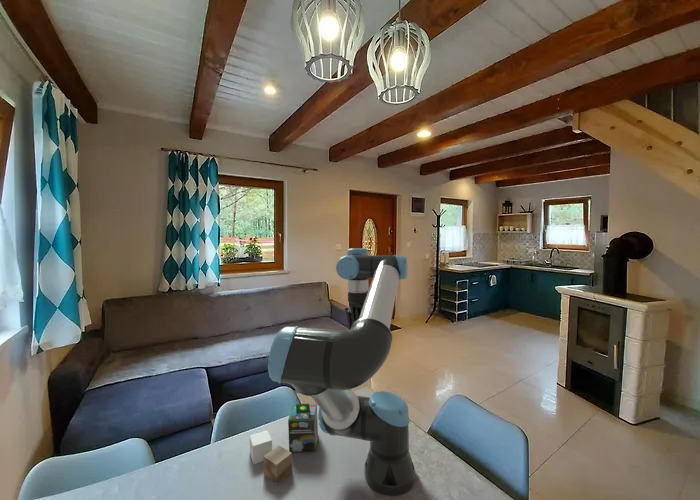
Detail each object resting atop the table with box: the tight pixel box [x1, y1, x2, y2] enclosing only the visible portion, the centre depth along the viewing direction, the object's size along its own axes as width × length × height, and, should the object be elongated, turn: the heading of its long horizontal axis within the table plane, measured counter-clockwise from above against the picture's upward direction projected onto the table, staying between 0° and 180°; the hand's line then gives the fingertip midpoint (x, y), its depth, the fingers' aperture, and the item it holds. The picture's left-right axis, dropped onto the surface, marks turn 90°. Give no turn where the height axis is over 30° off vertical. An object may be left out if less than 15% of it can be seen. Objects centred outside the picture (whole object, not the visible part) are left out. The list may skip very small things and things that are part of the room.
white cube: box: [249, 429, 273, 465], centre depth 99 cm, size 6×6×6 cm
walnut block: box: [263, 445, 293, 485], centre depth 91 cm, size 6×6×6 cm
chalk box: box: [287, 403, 319, 453], centre depth 105 cm, size 9×9×15 cm
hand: (358, 355), depth 108 cm, fingers closed
